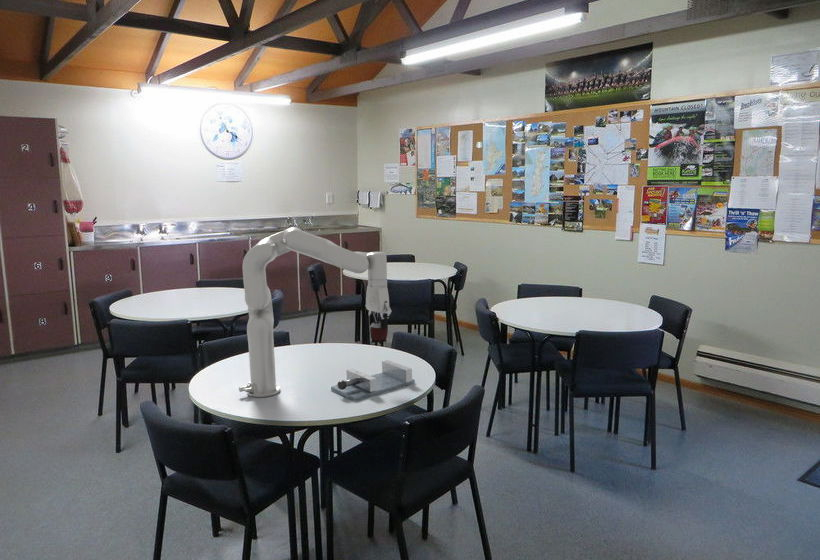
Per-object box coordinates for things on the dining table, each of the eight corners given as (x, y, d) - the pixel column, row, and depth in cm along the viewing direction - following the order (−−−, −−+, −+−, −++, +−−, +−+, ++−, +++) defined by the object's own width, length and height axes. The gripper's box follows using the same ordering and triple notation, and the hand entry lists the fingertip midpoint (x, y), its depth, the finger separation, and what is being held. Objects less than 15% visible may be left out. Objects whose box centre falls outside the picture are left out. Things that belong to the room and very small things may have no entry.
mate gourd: (389, 343, 231) (389, 306, 229) (369, 344, 229) (369, 307, 227) (385, 339, 238) (385, 303, 236) (366, 340, 236) (366, 304, 234)
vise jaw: (350, 397, 215) (349, 385, 215) (327, 386, 228) (326, 375, 227) (376, 390, 223) (376, 378, 222) (352, 379, 235) (352, 368, 235)
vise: (354, 401, 217) (353, 384, 216) (331, 390, 229) (330, 374, 228) (414, 383, 236) (414, 368, 235) (390, 373, 248) (390, 359, 247)
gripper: (357, 281, 233) (358, 324, 236) (383, 287, 220) (384, 332, 223) (372, 279, 238) (373, 321, 241) (398, 284, 225) (399, 329, 228)
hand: (378, 326), depth 232 cm, fingers closed on mate gourd, 6 cm apart
